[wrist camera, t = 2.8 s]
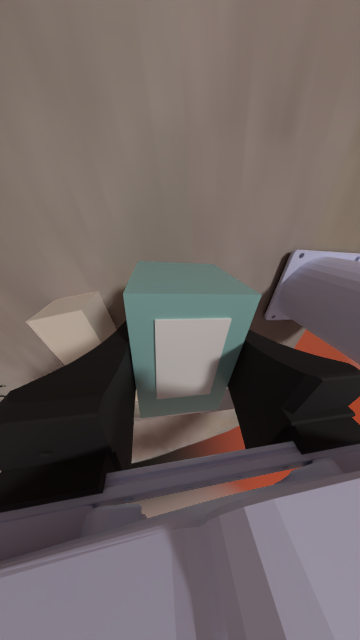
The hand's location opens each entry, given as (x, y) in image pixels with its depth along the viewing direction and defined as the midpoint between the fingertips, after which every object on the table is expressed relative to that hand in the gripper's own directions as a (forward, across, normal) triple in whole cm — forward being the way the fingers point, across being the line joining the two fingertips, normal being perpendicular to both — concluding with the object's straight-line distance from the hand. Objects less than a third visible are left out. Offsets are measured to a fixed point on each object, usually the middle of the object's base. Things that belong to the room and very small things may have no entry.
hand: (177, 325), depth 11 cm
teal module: (+2, 0, 0) cm, 2 cm away
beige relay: (+6, +8, +3) cm, 10 cm away
